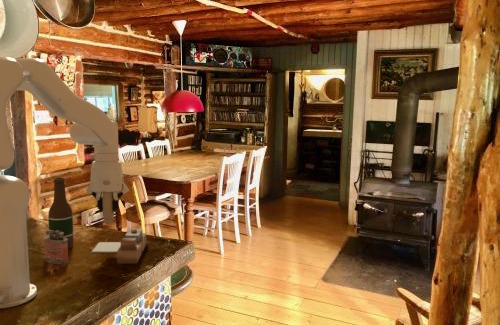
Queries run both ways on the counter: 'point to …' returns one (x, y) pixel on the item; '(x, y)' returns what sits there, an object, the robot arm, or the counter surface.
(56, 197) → the brown glass bottle
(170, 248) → the counter surface
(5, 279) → the robot arm
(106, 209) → the handle
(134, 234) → the body
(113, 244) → the felt pad
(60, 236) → the lighter
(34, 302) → the counter surface
